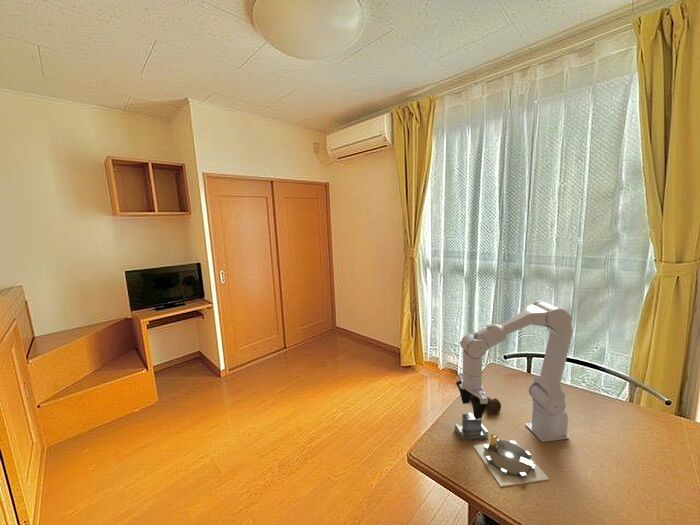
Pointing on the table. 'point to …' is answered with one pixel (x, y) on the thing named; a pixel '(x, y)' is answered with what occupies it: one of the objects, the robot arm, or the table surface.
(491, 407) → the dark brown lumpy bar
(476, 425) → the banded grey block
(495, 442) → the sprocket
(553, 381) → the robot arm
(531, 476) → the board
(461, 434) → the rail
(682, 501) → the table surface
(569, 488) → the table surface
